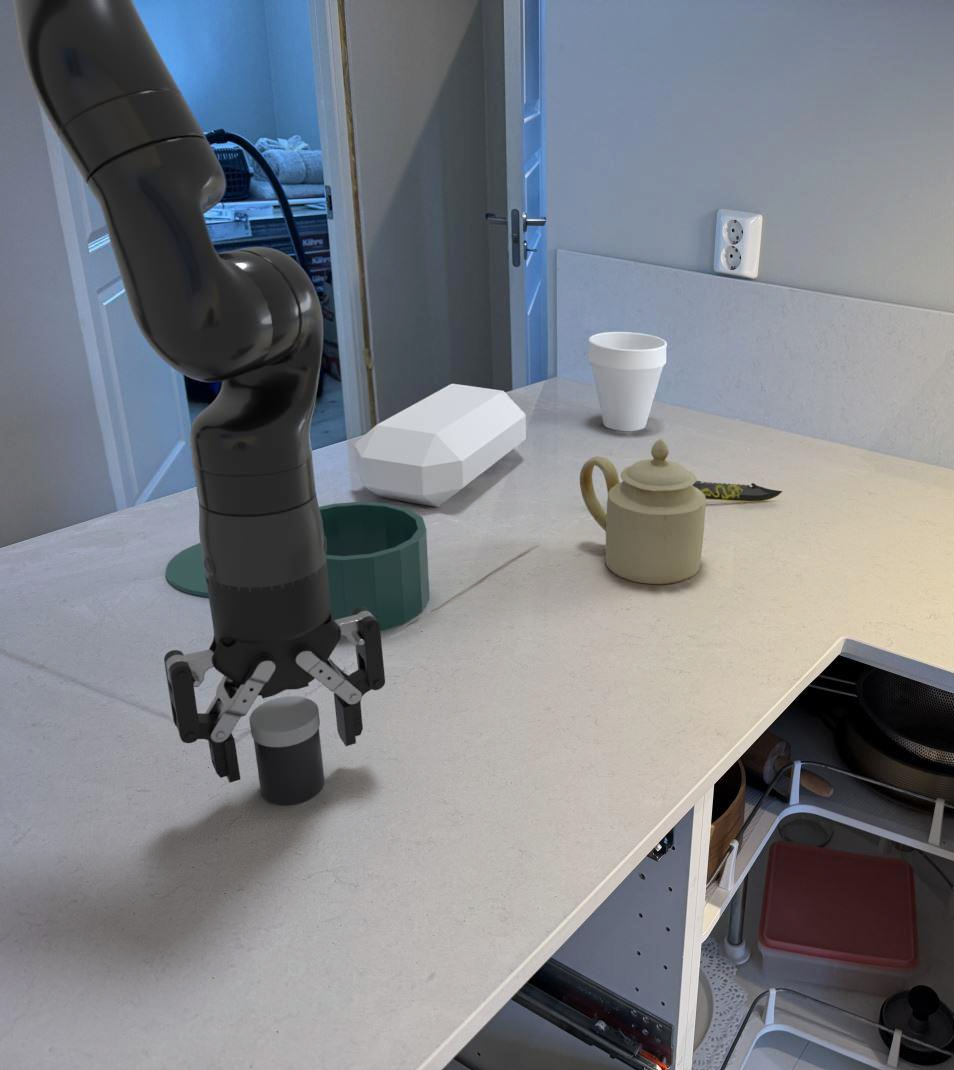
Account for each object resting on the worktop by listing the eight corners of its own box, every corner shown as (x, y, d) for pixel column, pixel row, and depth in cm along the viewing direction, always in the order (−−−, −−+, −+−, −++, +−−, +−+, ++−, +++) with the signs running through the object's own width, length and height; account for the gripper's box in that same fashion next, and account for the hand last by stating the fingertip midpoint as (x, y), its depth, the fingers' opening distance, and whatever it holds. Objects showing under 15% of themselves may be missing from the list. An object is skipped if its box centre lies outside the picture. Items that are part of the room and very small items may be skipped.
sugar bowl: (562, 576, 109) (564, 447, 103) (581, 536, 119) (583, 416, 113) (697, 589, 108) (707, 460, 102) (704, 547, 118) (713, 428, 112)
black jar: (245, 794, 73) (234, 720, 70) (292, 760, 77) (284, 689, 74) (293, 814, 71) (284, 739, 69) (339, 778, 75) (332, 706, 73)
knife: (775, 514, 136) (782, 480, 134) (779, 518, 135) (786, 484, 133) (609, 505, 128) (615, 469, 126) (612, 509, 126) (617, 473, 125)
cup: (631, 442, 152) (635, 354, 146) (570, 424, 157) (571, 338, 152) (677, 424, 161) (683, 341, 156) (618, 408, 167) (621, 327, 161)
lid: (134, 580, 101) (125, 530, 98) (248, 531, 113) (242, 485, 111) (242, 616, 96) (235, 564, 94) (349, 561, 108) (345, 514, 106)
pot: (253, 616, 96) (243, 537, 92) (352, 564, 108) (346, 492, 104) (365, 654, 91) (358, 571, 88) (456, 595, 103) (453, 520, 100)
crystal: (334, 430, 118) (442, 374, 143) (340, 504, 122) (444, 437, 147) (446, 446, 116) (536, 387, 141) (449, 522, 120) (536, 451, 145)
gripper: (354, 518, 73) (369, 704, 80) (135, 558, 65) (173, 761, 72) (391, 557, 68) (404, 753, 74) (157, 606, 60) (196, 821, 66)
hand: (290, 757), depth 73 cm, fingers open, 7 cm apart
